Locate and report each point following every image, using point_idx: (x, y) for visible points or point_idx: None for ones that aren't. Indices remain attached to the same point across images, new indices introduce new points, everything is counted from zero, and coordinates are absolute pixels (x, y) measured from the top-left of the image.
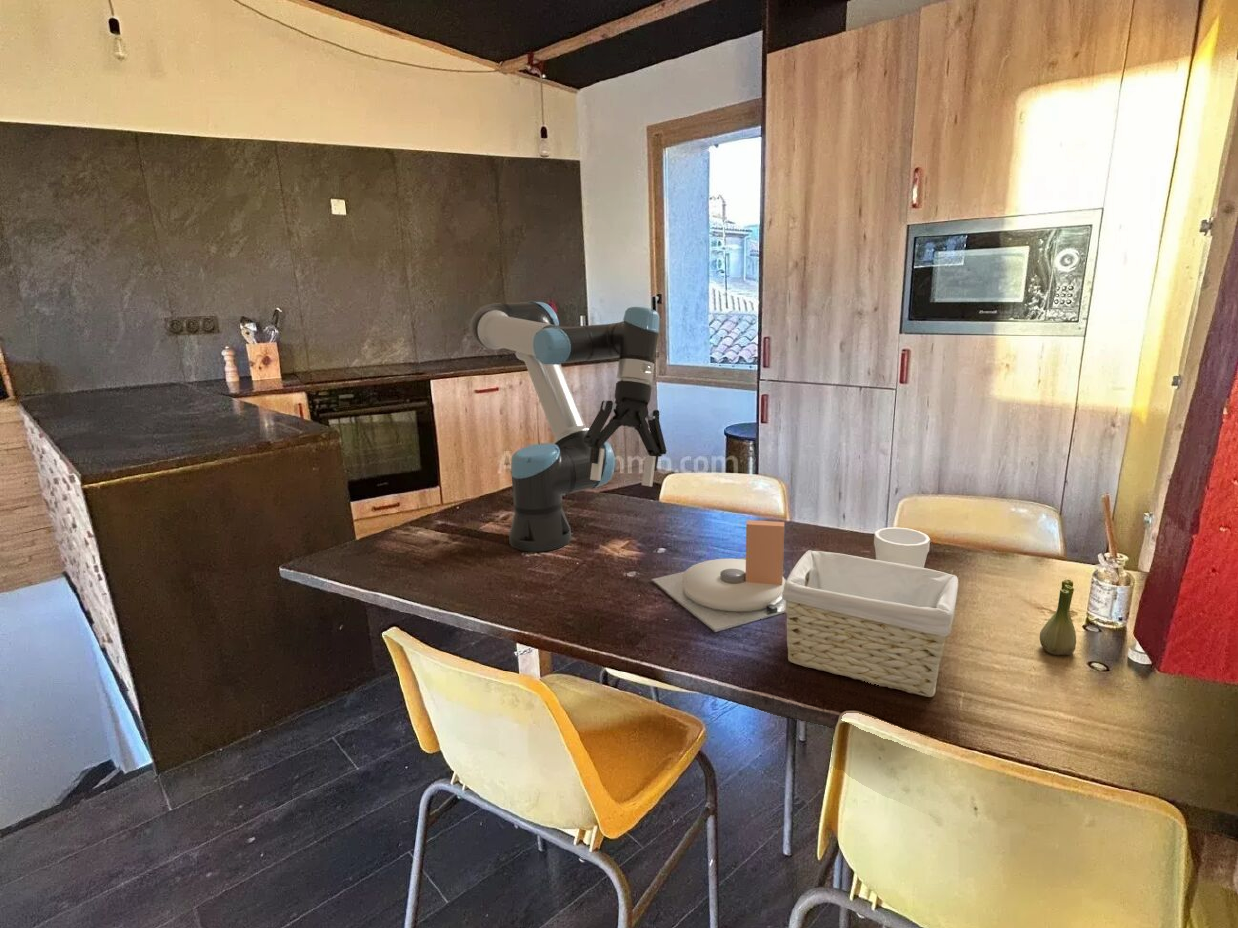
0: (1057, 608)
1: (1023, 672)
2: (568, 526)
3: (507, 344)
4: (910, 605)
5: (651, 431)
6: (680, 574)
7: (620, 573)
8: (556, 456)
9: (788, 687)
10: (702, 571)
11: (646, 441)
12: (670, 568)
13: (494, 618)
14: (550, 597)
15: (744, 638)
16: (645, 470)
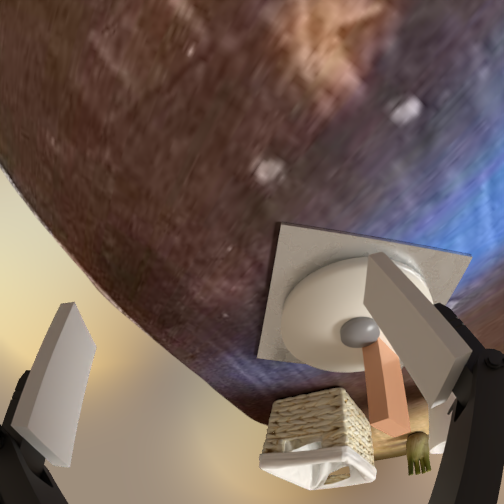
0: (423, 454)
1: (379, 437)
2: None
3: None
4: (302, 486)
5: None
6: (339, 240)
7: (249, 155)
8: None
9: (250, 407)
10: (346, 293)
11: (446, 476)
12: (351, 199)
13: (27, 193)
14: (95, 174)
15: (274, 371)
16: (402, 313)
